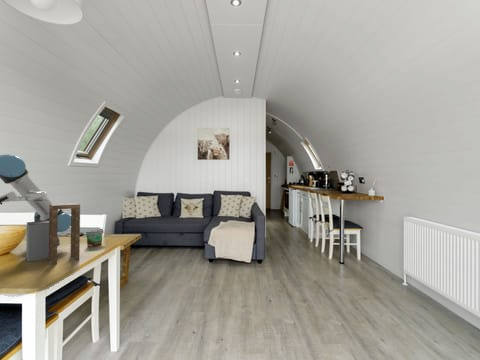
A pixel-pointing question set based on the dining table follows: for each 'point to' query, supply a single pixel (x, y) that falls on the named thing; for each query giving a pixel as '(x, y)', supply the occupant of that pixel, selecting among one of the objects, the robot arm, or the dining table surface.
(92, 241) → the food container
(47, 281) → the dining table surface
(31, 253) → the gray rectangular block
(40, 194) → the silver saucepan
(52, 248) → the tall stand
